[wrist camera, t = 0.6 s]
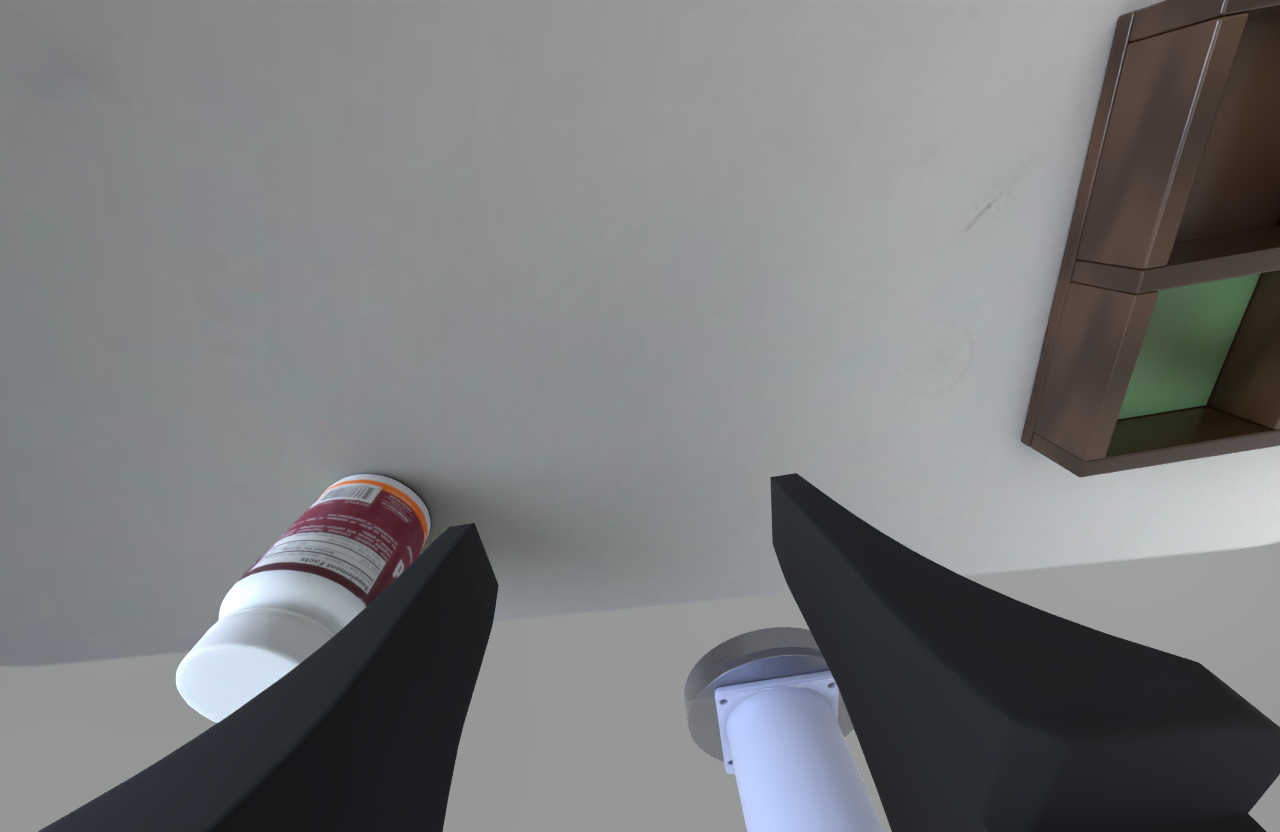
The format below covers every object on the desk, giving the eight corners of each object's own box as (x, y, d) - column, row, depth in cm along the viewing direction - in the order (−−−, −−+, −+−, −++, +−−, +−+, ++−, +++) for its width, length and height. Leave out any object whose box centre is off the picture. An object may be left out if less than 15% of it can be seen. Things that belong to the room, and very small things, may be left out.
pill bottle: (404, 570, 23) (300, 759, 15) (306, 524, 21) (136, 708, 14) (452, 505, 21) (364, 679, 14) (351, 451, 20) (188, 612, 12)
